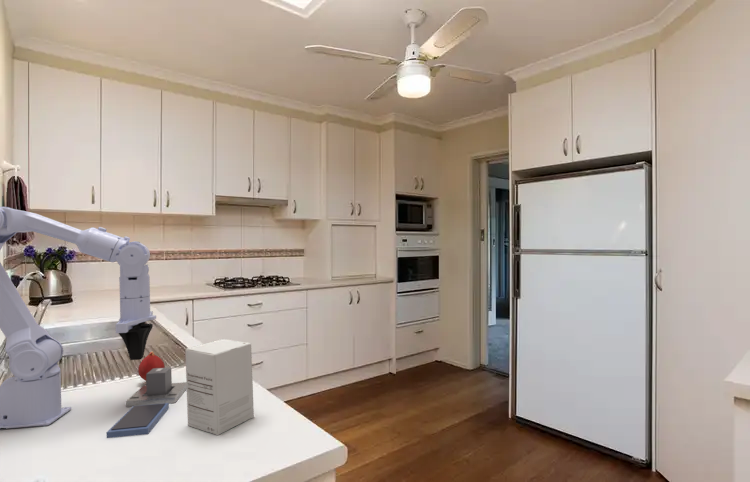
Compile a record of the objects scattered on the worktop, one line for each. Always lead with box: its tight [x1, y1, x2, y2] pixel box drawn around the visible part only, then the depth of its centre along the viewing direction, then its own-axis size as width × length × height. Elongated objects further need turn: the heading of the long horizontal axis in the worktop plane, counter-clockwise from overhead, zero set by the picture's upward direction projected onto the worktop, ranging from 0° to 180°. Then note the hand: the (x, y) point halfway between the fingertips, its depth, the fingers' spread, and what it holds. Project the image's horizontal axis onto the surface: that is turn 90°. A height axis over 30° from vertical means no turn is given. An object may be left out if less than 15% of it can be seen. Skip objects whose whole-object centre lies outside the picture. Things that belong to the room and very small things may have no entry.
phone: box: [106, 403, 170, 439], centre depth 82 cm, size 7×12×2 cm, turn 10°
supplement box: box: [184, 338, 255, 436], centre depth 81 cm, size 9×9×15 cm
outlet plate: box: [125, 381, 187, 408], centre depth 95 cm, size 10×10×1 cm
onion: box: [137, 351, 166, 382], centre depth 104 cm, size 6×6×8 cm
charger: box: [145, 367, 173, 396], centre depth 95 cm, size 4×4×6 cm
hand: (136, 359), depth 91 cm, fingers closed
